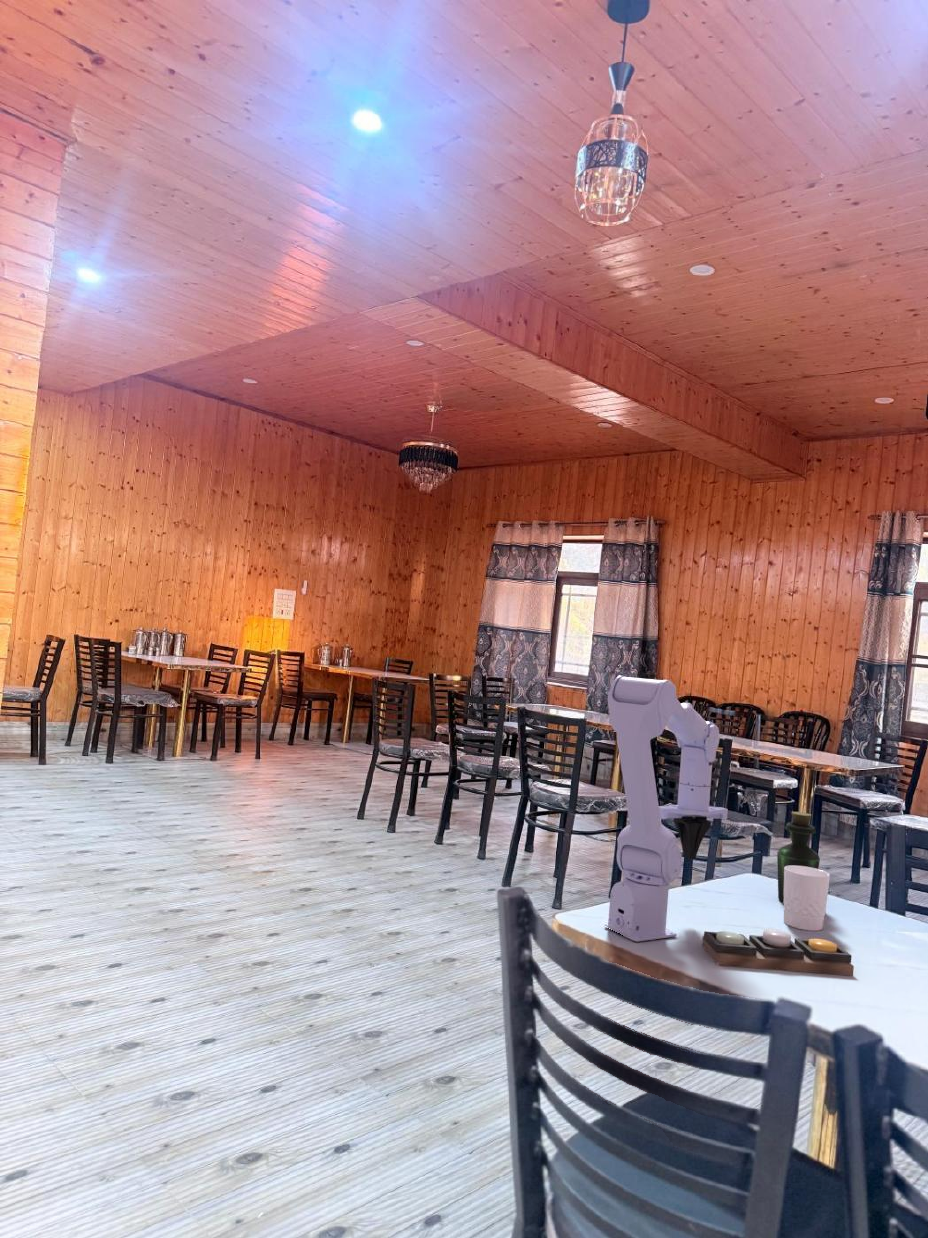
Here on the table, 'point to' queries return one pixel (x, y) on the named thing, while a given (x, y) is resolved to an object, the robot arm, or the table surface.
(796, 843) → the potion bottle
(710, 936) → the button panel
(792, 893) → the white cup
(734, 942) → the sage button
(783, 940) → the pale pink button
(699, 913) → the table surface
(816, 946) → the amber button
